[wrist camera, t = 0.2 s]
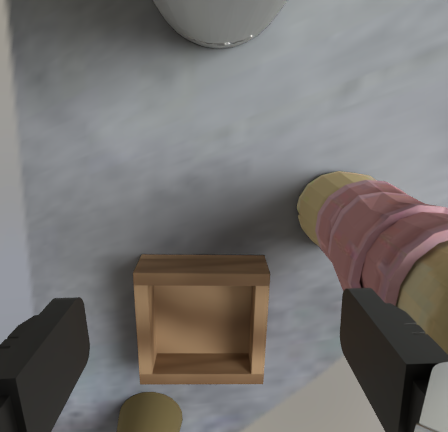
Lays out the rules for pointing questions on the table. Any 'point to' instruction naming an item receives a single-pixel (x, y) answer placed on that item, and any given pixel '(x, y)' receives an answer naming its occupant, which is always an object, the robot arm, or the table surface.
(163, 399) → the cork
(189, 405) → the table surface
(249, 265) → the wooden tray
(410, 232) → the scroll
